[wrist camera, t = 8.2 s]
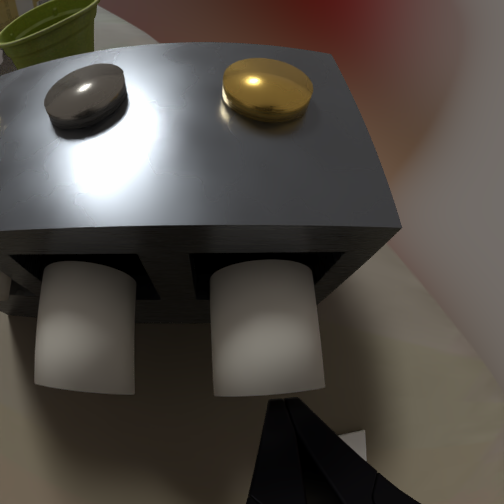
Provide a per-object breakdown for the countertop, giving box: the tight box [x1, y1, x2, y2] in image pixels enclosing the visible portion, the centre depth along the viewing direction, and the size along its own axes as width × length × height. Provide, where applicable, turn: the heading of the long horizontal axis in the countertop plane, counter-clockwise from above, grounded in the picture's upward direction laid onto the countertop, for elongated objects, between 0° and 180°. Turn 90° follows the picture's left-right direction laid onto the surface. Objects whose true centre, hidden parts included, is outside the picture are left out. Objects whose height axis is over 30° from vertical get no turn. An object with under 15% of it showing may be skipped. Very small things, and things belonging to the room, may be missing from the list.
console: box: [0, 42, 402, 323], centre depth 12 cm, size 8×17×11 cm, turn 94°
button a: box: [210, 259, 325, 397], centre depth 9 cm, size 4×3×3 cm
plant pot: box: [0, 0, 100, 70], centre depth 18 cm, size 9×9×9 cm
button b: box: [34, 261, 136, 395], centre depth 8 cm, size 4×3×3 cm
